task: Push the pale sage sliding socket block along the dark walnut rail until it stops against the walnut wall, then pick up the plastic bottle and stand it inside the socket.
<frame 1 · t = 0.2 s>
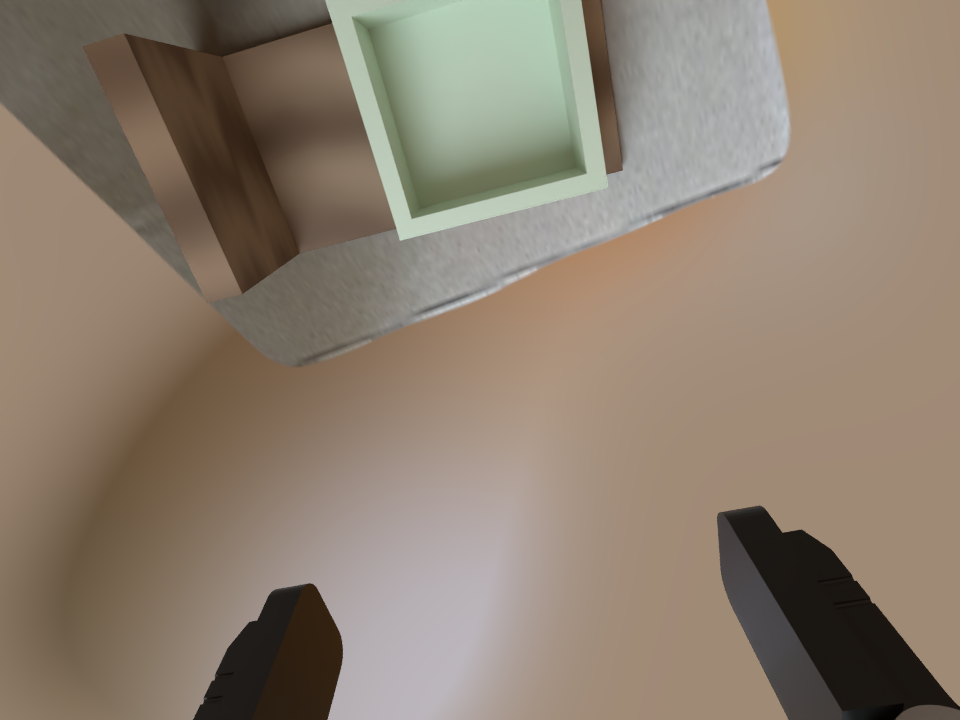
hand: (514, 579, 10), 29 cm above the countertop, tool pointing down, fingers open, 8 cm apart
backstop: (415, 120, 33), on the countertop
socket block: (476, 100, 29), point 3 cm above the countertop, slide at 0.0 cm
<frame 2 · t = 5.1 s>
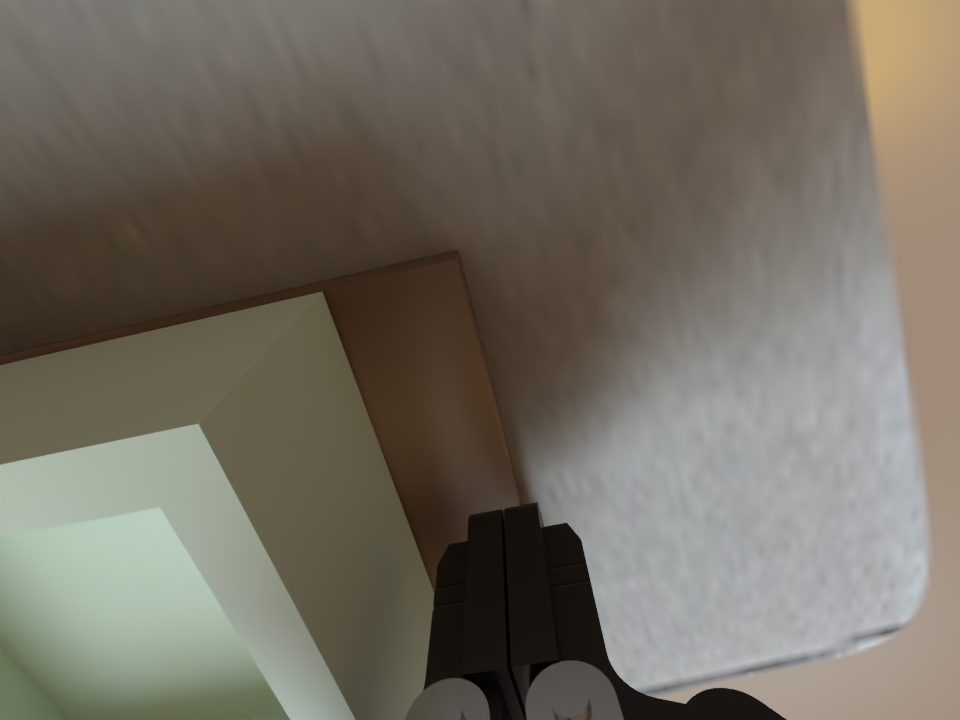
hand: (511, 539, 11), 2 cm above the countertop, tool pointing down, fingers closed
backstop: (94, 554, 15), on the countertop
socket block: (123, 649, 11), point 3 cm above the countertop, slide at 0.8 cm, touching gripper
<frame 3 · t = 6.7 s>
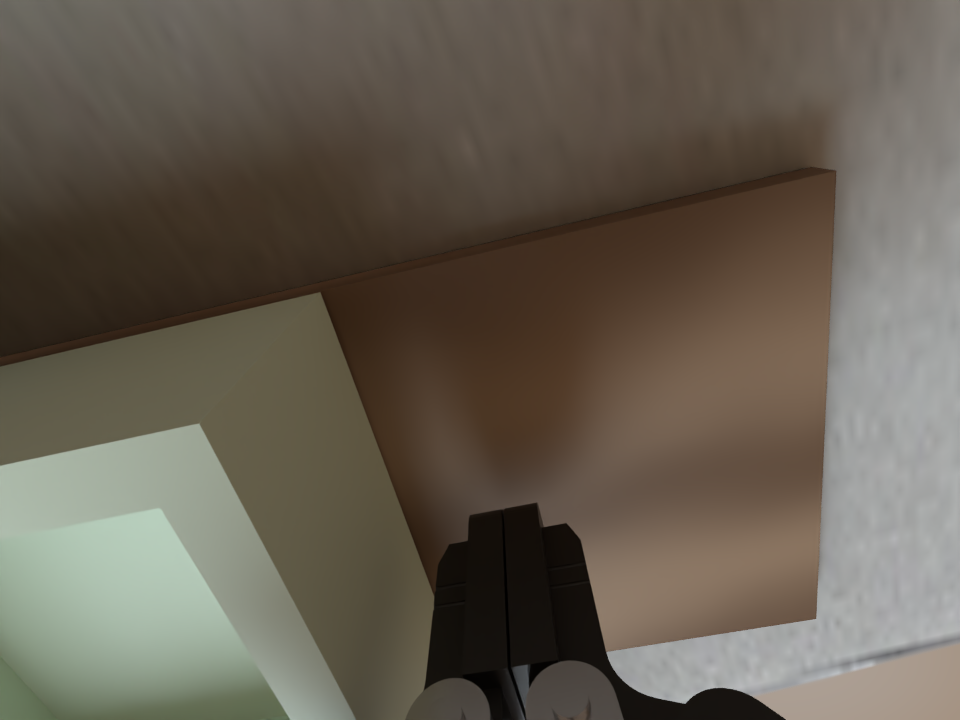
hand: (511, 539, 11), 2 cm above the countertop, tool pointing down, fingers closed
backstop: (337, 510, 14), on the countertop
socket block: (120, 652, 11), point 3 cm above the countertop, slide at 8.0 cm, touching backstop, gripper
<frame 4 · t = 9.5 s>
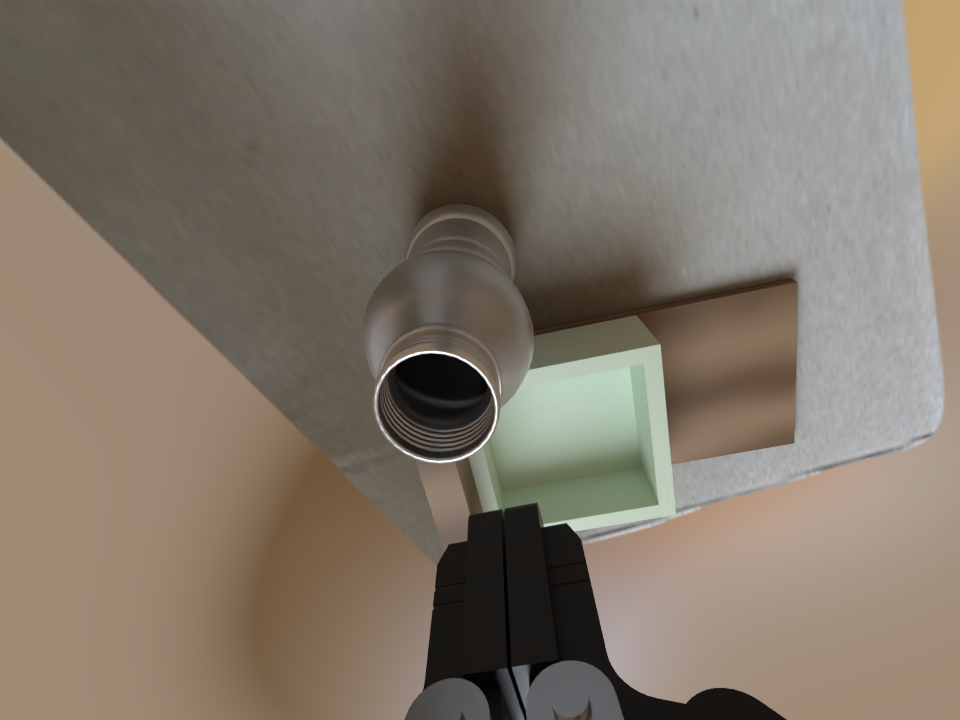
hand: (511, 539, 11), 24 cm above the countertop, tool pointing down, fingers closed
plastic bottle: (462, 253, 33), on the countertop
backstop: (612, 396, 37), on the countertop
socket block: (563, 432, 34), point 3 cm above the countertop, slide at 8.0 cm, touching backstop
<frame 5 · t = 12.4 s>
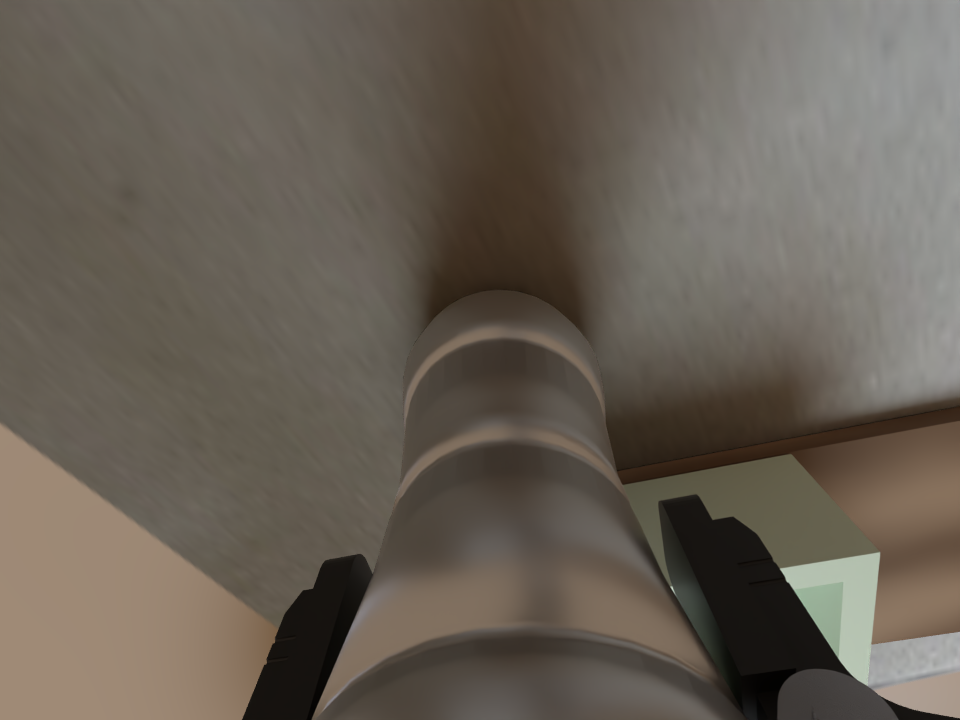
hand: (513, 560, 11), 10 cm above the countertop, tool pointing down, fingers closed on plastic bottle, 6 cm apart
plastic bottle: (500, 358, 20), on the countertop, touching gripper
backstop: (733, 559, 24), on the countertop
socket block: (667, 641, 21), point 3 cm above the countertop, slide at 8.0 cm, touching backstop
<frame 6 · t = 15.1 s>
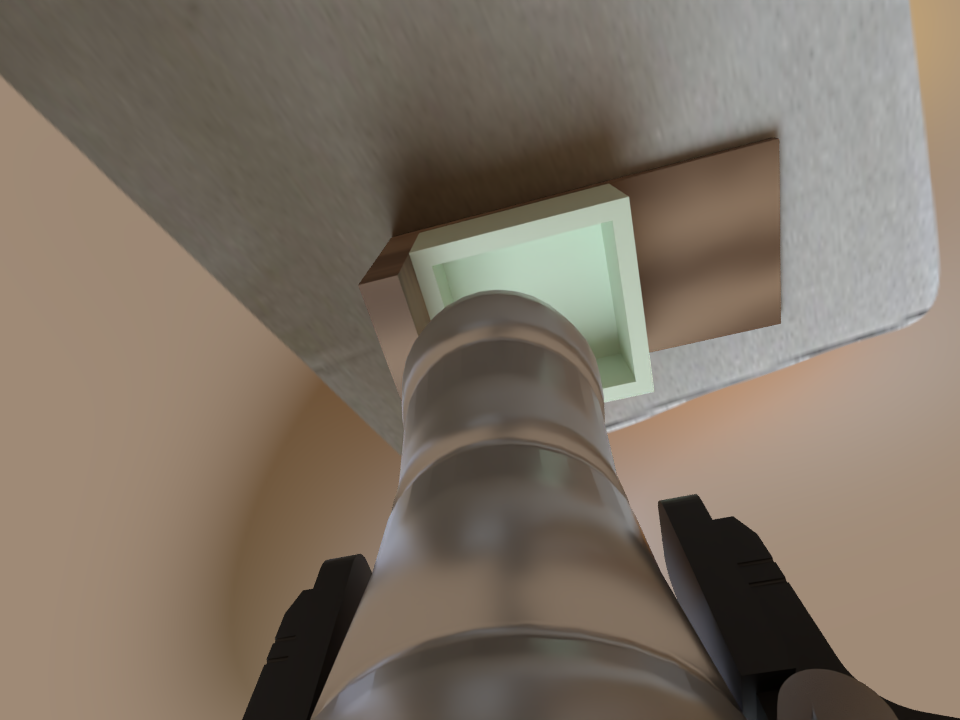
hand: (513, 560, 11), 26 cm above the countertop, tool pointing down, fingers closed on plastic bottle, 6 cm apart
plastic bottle: (499, 358, 20), point 16 cm above the countertop, touching gripper
backstop: (589, 279, 35), on the countertop
socket block: (535, 311, 33), point 3 cm above the countertop, slide at 8.0 cm, touching backstop
when the fingers open (12 cm above the countertop, at t = 17.9 s): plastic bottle stays where it is, resting on socket block.
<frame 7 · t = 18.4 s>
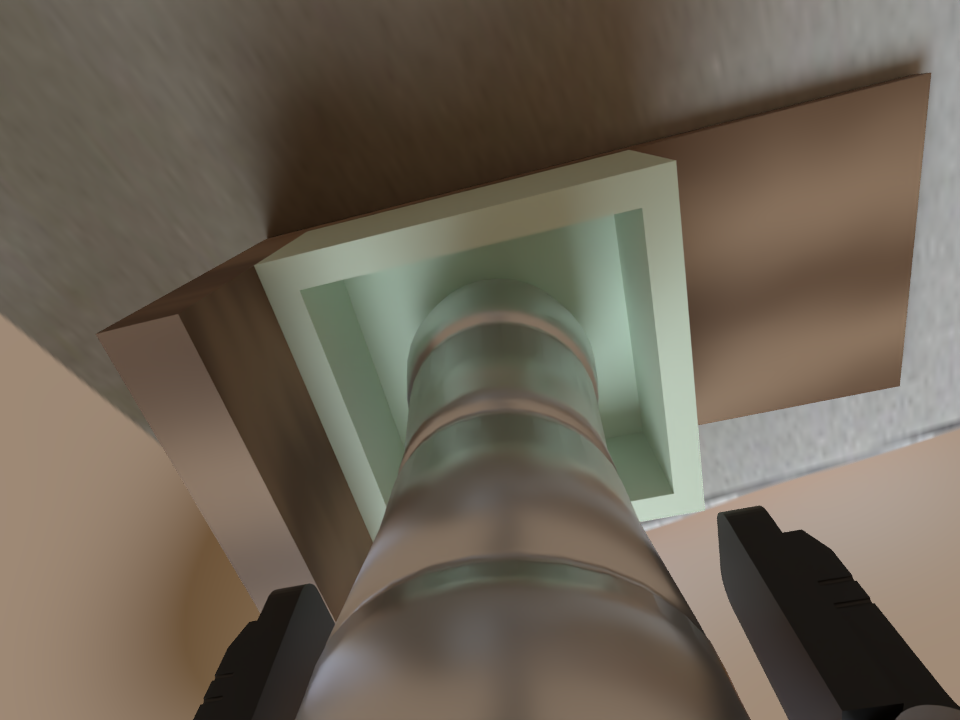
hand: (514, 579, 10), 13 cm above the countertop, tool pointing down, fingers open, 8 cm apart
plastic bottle: (500, 345, 21), point 2 cm above the countertop, touching socket block
backstop: (592, 311, 22), on the countertop
socket block: (501, 367, 19), point 3 cm above the countertop, slide at 8.0 cm, touching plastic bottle
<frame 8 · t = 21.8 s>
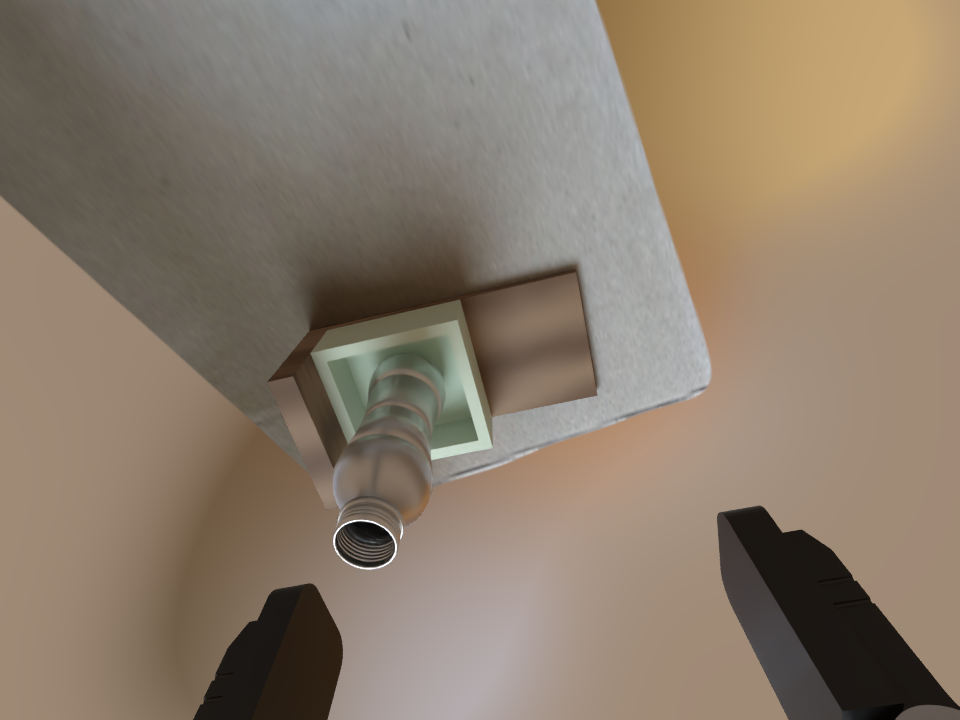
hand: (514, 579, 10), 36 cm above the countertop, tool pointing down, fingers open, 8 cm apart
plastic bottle: (411, 378, 47), point 2 cm above the countertop, touching socket block
backstop: (455, 361, 48), on the countertop
socket block: (409, 388, 46), point 3 cm above the countertop, slide at 8.0 cm, touching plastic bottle
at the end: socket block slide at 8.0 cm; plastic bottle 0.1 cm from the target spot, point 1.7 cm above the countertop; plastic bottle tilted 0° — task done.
